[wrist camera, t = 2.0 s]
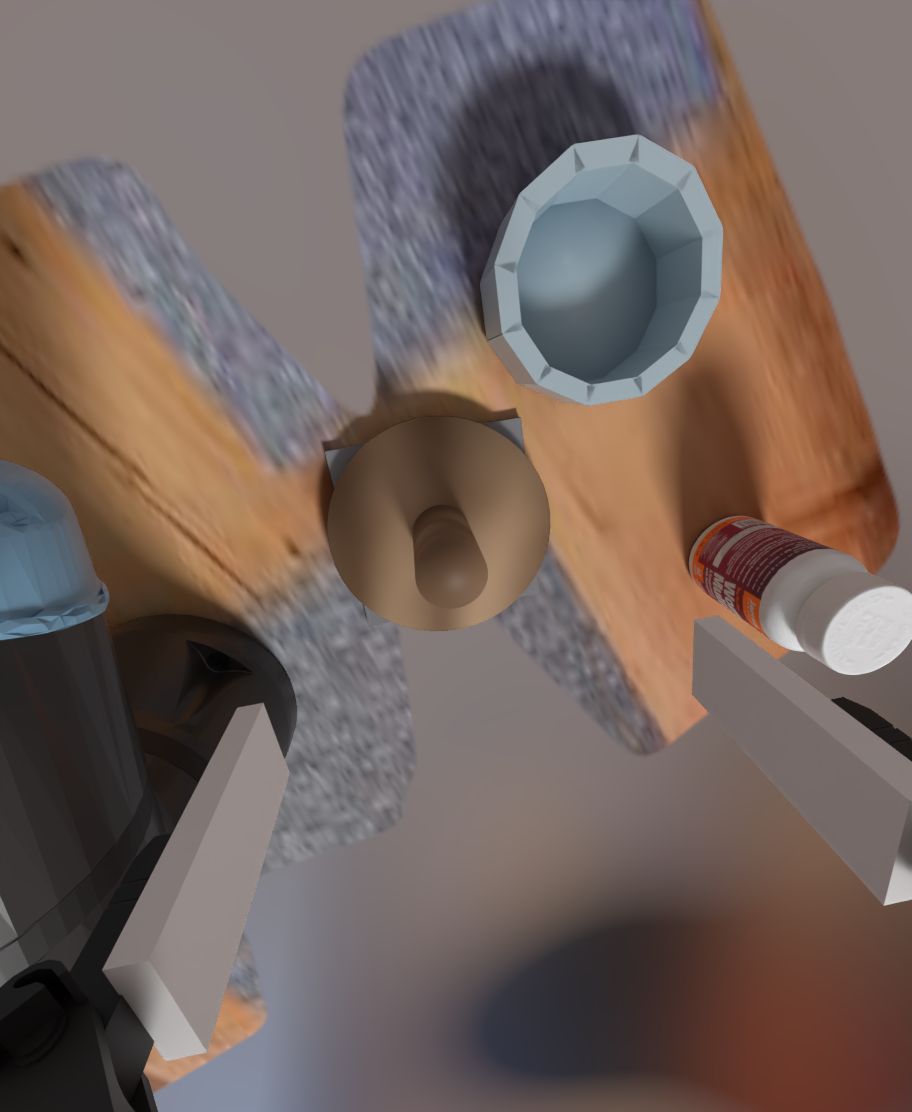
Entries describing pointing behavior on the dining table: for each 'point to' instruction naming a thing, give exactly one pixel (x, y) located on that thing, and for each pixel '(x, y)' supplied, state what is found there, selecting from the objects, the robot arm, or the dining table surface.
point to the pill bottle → (803, 594)
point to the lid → (438, 523)
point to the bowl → (603, 272)
